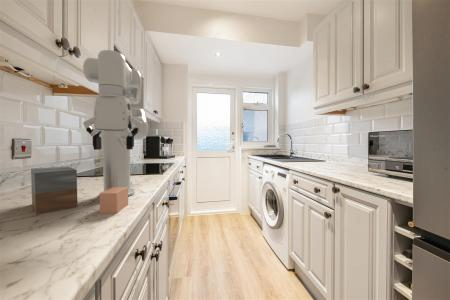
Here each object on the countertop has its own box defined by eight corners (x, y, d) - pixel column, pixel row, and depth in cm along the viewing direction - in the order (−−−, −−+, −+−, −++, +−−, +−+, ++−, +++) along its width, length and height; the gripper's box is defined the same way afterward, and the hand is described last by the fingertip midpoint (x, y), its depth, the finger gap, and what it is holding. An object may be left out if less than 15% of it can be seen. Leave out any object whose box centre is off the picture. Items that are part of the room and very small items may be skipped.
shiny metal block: (32, 204, 70) (30, 168, 69) (68, 198, 77) (67, 166, 77) (36, 214, 60) (34, 173, 60) (77, 206, 67) (76, 169, 67)
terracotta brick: (112, 205, 69) (112, 187, 69) (128, 205, 70) (128, 187, 69) (99, 213, 61) (99, 193, 61) (117, 213, 62) (116, 193, 61)
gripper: (145, 97, 68) (146, 149, 69) (90, 96, 67) (92, 149, 68) (137, 91, 61) (137, 149, 61) (75, 90, 60) (76, 150, 60)
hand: (113, 149), depth 64 cm, fingers open, 9 cm apart
